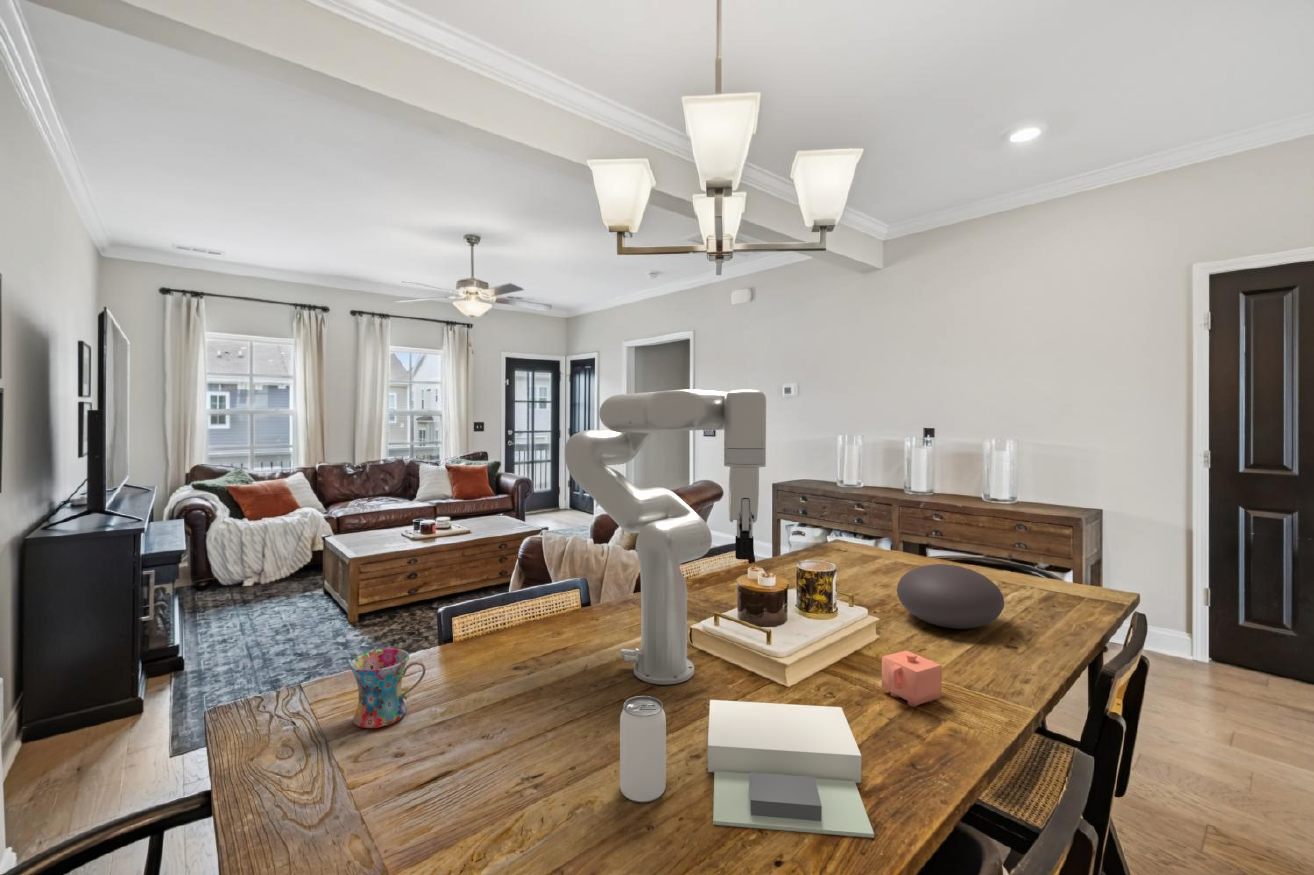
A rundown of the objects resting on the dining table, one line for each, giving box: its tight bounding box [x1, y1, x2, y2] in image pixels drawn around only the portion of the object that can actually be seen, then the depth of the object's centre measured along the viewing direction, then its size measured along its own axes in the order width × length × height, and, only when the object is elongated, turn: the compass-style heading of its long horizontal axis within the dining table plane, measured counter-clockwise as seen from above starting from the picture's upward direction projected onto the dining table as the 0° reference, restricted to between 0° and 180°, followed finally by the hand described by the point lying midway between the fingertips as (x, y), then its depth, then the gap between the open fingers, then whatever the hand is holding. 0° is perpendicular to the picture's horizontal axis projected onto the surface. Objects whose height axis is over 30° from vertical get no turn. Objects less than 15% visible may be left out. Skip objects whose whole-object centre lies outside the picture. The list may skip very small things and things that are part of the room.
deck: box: [707, 699, 862, 784], centre depth 90 cm, size 22×14×4 cm, turn 83°
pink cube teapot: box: [881, 649, 943, 708], centre depth 108 cm, size 8×12×8 cm, turn 116°
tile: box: [749, 772, 822, 821], centre depth 77 cm, size 9×6×2 cm, turn 83°
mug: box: [349, 648, 427, 729], centre depth 100 cm, size 12×9×11 cm
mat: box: [712, 771, 875, 839], centre depth 77 cm, size 20×10×1 cm, turn 83°
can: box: [619, 695, 667, 804], centre depth 80 cm, size 6×6×12 cm
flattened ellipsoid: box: [896, 563, 1005, 630], centre depth 147 cm, size 25×25×15 cm
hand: (744, 558), depth 104 cm, fingers closed
